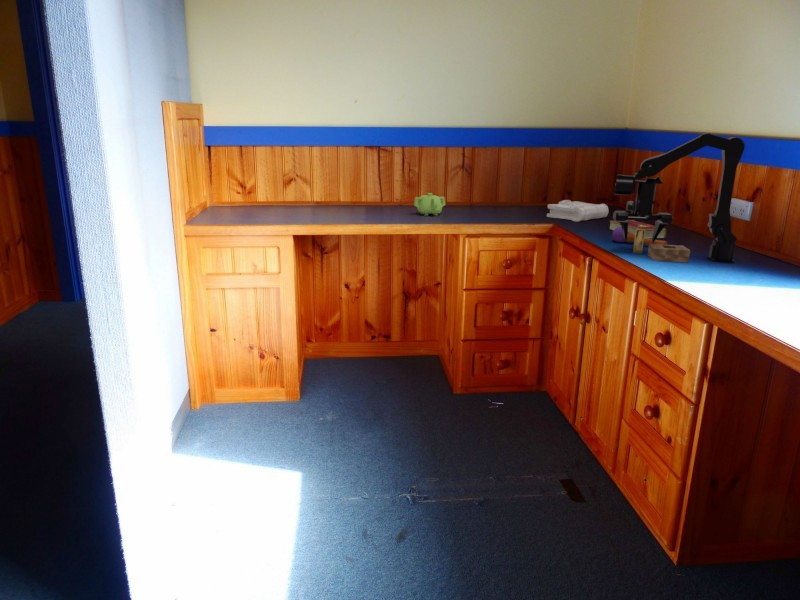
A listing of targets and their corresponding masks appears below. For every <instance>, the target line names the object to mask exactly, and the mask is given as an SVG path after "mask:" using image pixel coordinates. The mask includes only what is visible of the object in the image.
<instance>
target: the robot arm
mask: <svg viewBox="0 0 800 600" xmlns="http://www.w3.org/2000/svg"><path fill="white" fill-rule="evenodd" d="M704 147H711V148H714V149H718V150H721V159H722V161H721V162H722V169H721V170H722V171H721V177H720V183H719V188H718V189H719V190H718V196H717V202H716V209H715V210H714V213H709V214H708V219H709V220H708V223H707V227H708V228H709V231H710V233H711V234H712V235H713V236H714V240H713V239H712V243H711V244H710V245H709V251H708V256H707V258H709V259H710V260H712V261H714V262H726V263H734V262H735V260H734V254H735V249H736V246H737V245H736V242H737V240H738V238H737V237H736V235H734V234H733V232H732V219H731V218H732V217H731V211H730V210H731V204H732V199H733V192H734V187H735V181H736V179H735V178H736V175H737V169H738V166H739V163H740V161H741V159H742V157H743V153H744V151H745V148H746V143H745V142H744V141H743V139H742V138H739V137H734V136H731V137H728V138H726V137H721V136H717V135H714V134H711V133H710V132H703V133H701V134H700V135H699V136H697V137H695V138H693V139H691V140H689V141H686V142H685V143H683V144H681V145H678V146H676V147H675V148H673V149H671V150H670V151H667V152H665V153H662V154H658V155H655V156H651V157H648V158H645V159H644V160H642V162H641V164H640V168H639V170H637V171H636V172H635V173H634V174H633V175H623V174H617V175H616V182H615V185H614V191H613V192H614V196H615V195H617V196H630V197H631V196H632V194H634V193H636V197H635V201H633V200H628V201H626V207H625V210H615V211H613V214H612V219H613V221H617V222H618V223H620V224H621V227H622V230H623V235H624V240H625V242H626V240H627V233H628V222H627V220H643V221H654V222H655V223H654V226H655V229H654V233H653V237H652V238H651V239H652V242H653V243H654V241H655V240H657V239H658V238H657V237H658V235H659V233H660V232H661V231H662V229H663V228H664V229H665V227H667V226H669V224H673V222H674V216H673V215H672V213H669V212H657V214H653V211H654V210H653V209H654V204H655V197H656V196H655V195H656V191H657V185H663V181H662V180H661V179H660V177H659V175H657V174H659V173H660V172H661V171H663V170H664V169H666V168H667V167H668V166H670V165H671V164H672V163H674V162H676V161H678V160H681V159H683V158H685V157H687V156H688V155H689V156H690V154H693V153H695V152H696V151H699V150H701V149H702V148H704ZM656 175H657V176H656ZM654 176H656V177H655V178H653V177H654ZM651 177H652V178H651ZM642 179H645V180H642ZM636 189H637V192H636ZM627 211H629V212H630V213H629V212H627Z"/></svg>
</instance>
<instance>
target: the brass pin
mask: <svg viewBox="0 0 800 600" xmlns="http://www.w3.org/2000/svg"><path fill="white" fill-rule="evenodd" d="M644 235H645V230H644V229H636V233H635V240H634V241H633V248H632V253H633V254H634V253H635V254H642V253H643V249H644V248H643V247H644V243H643V242H644Z"/></svg>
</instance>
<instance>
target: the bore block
mask: <svg viewBox="0 0 800 600" xmlns="http://www.w3.org/2000/svg"><path fill="white" fill-rule="evenodd" d="M690 255H691V250H690V249H689V248H687V247H686V246H685V245H682V244H681V245H679V244H678V245H677V244H667V245H663V244H649V245H648V251H647V256H648V257H649V258H650V259H651V260H652V261H654V262H655V261H656V262H657V261H658V262H674V263H675V262H676V263H689V261H690V260H689V259H690Z"/></svg>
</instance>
